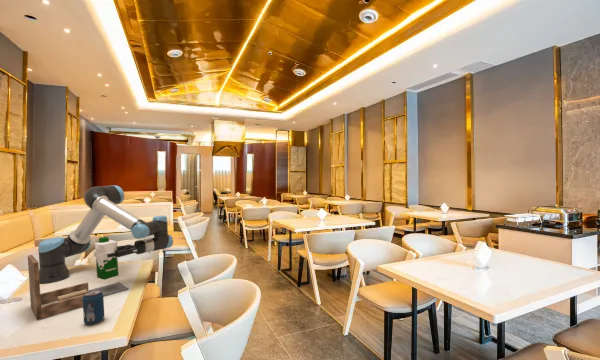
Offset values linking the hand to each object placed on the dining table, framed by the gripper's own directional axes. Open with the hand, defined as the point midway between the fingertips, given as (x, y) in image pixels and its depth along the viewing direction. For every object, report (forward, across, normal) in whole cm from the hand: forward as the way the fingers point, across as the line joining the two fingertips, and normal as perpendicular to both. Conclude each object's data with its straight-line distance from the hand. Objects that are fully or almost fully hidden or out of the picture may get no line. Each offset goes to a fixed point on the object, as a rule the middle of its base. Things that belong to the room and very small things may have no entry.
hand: (96, 255), depth 152 cm
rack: (+14, -3, -19) cm, 24 cm away
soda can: (+10, -34, -20) cm, 40 cm away
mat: (-4, 0, -19) cm, 20 cm away
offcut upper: (+11, -4, -18) cm, 21 cm away
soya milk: (-4, 0, -12) cm, 13 cm away
